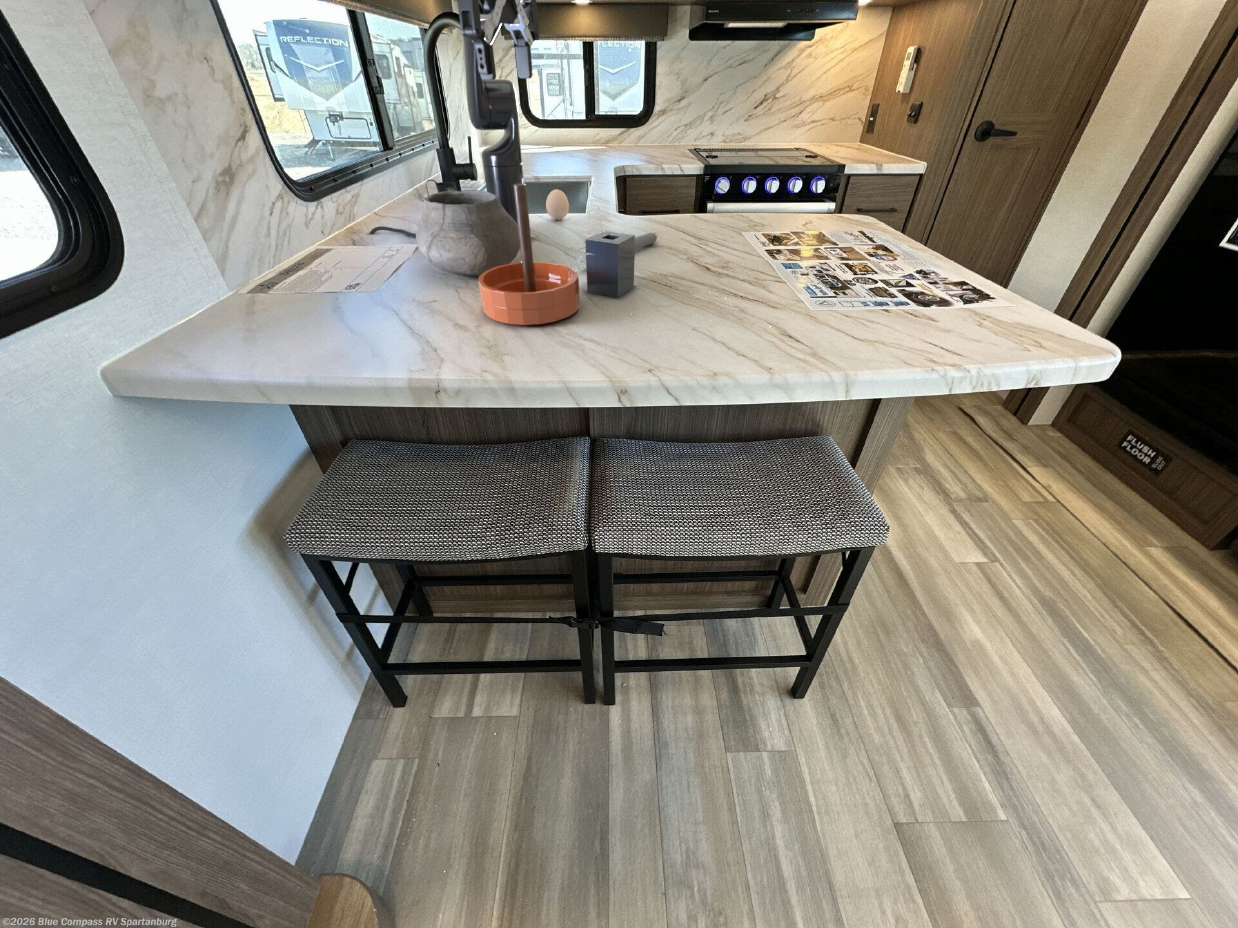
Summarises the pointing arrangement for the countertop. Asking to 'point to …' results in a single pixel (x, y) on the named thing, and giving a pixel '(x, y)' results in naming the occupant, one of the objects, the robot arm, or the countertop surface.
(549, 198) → the egg
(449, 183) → the mug
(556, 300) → the bowl
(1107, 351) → the countertop surface
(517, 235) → the clay pot
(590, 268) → the block
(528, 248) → the stirring stick
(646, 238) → the kitchen whisk
